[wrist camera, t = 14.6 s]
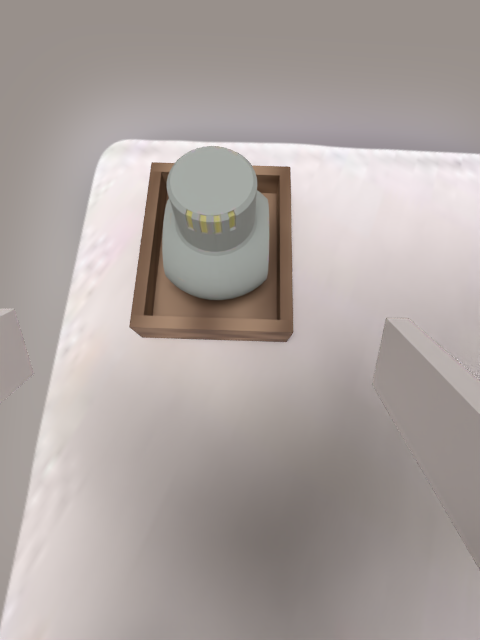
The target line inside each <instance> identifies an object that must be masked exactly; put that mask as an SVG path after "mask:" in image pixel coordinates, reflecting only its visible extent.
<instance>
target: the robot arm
mask: <svg viewBox="0 0 480 640" xmlns="http://www.w3.org/2000/svg"><path fill="white" fill-rule="evenodd" d="M33 374H34V372H33V368H32V365H31V362H30V358H29V355H28V352H27V349H26V346H25V342H24V338H23V335H22V332H21V329H20V325H19V322H18V319H17V315H16V312H15V309H0V403H2V401H4V400H5V399H6V398H7V397H8V396H10V395H11V394H12V393H13V392H14V391H15V390H16V389H17V388H19V387H20V386H21V385H22V384H23V383H24V382H25V381H27V380H28V379H29V378H30V377H31V376H32V375H33ZM372 385H373V387H374V389H375V391H376V392H377V394H378V396H379V397H380V399H381V401H382V403H383V404H384V406H385V408H386V409H387V411H388V413H389V415H390V416H391V418H392V420H393V422H394V423H395V425H396V427H397V428H398V430H399V432H400V434H401V435H402V437H403V439H404V440H405V442H406V444H407V446H408V447H409V449H410V451H411V453H412V454H413V456H414V458H415V459H416V461H417V463H418V465H419V466H420V468H421V470H422V471H423V473H424V475H425V477H426V478H427V480H428V482H429V484H430V485H431V487H432V489H433V490H434V492H435V494H436V496H437V497H438V499H439V501H440V502H441V504H442V506H443V508H444V509H445V511H446V513H447V515H448V516H449V518H450V520H451V521H452V523H453V525H454V527H455V528H456V530H457V532H458V533H459V535H460V537H461V539H462V540H463V542H464V544H465V546H466V547H467V549H468V551H469V552H470V554H471V556H472V558H473V559H474V561H475V563H476V564H477V566H478V568H479V570H480V381H479V380H478V379H477V378H476V377H475V376H474V375H473V374H471V373H470V372H469V371H468V370H467V369H466V368H465V367H464V366H462V365H461V364H460V363H459V362H458V361H457V360H456V359H454V358H453V357H452V356H451V355H450V354H449V353H448V352H447V351H445V350H444V349H443V348H442V347H441V346H440V345H439V344H437V343H436V342H435V341H434V340H433V339H432V338H431V337H430V336H428V335H427V334H426V333H425V332H424V331H423V330H422V329H420V328H419V327H418V326H417V325H416V324H415V323H414V322H413V321H411V320H410V319H409V318H386V321H385V326H384V330H383V335H382V340H381V344H380V349H379V354H378V359H377V363H376V368H375V373H374V377H373V382H372Z"/></svg>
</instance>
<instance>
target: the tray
mask: <svg viewBox="0 0 480 640" xmlns="http://www.w3.org/2000/svg"><path fill="white" fill-rule="evenodd" d="M174 164H175V163H152V164H151V172H150V179H149V186H148V194H147V201H146V208H145V216H144V223H143V230H142V238H141V245H140V253H139V260H138V267H137V275H136V282H135V289H134V297H133V304H132V312H131V319H130V326H129V327H130V328H131V329H132V330H134V331H135V332H136V333H137V334H139V335H140V336H141V337H150V338H181V339H212V340H242V341H273V342H287V340H288V339H289V338H290V336H291V335H292V333H293V298H292V239H291V180H290V167H278V166H252V167H253V169H254V171H255V173H256V177H257V190H258V191H259V192H260V193H261V194H263V195H264V196H265V197H266V198H267V199H268V204H269V263H268V275H267V279H266V280H265V281H264V282H263V283H262V284H261V285H260V286H258V287H257V288H256V289H254V290H253V291H251V292H249V293H247V294H245V295H243V296H240V297H236V298H233V299H226V300H208V299H202V298H198V297H196V296H193V295H190V294H188V293H186V292H184V291H183V290H181V289H179V288H178V287H177V286H175V285H174V284H173V283H172V282H171V281H170V280H169V279H168V278H167V277H166V275H165V272H164V267H163V253H162V238H163V222H164V214H165V208H166V204H167V201H168V199H169V196H168V192H167V178H168V174H169V172H170V170H171V168H172V166H173V165H174Z"/></svg>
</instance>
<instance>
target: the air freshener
mask: <svg viewBox="0 0 480 640" xmlns="http://www.w3.org/2000/svg"><path fill="white" fill-rule="evenodd" d="M167 192H168V196H169V199H168V201H167V204H166V208H165V214H164V222H163V238H162V253H163V267H164V272H165V275H166V277H167V278H168V279H169V280H170V281H171V282H172V283H173V284H174V285H175V286H177V287H178V288H179V289H181V290H183V291H184V292H186V293H188V294H190V295H193V296H196V297H198V298H202V299H208V300H226V299H233V298H236V297H240V296H243V295H245V294H247V293H249V292H251V291H253V290H254V289H256V288H257V287H258V286H260V285H261V284H262V283H263V282H264V281H265V280H266V279H267V275H268V263H269V204H268V199H267V198H266V197H265V196H264V195H263V194H261V193H260V192H259V191H258V190H257V177H256V173H255V171H254V169H253V167H252V165H251V164H250V163H249V161H248V160H247V159H245V158H244V157H243V156H242V155H240V154H239V153H237V152H234V151H232V150H230V149H227V148H224V147H218V146H207V147H201V148H197V149H195V150H192V151H190V152H188V153H187V154H185V155H183V156H182V157H181V158H179V159H178V160H177V161H176V163H175V164H174V165H173V166H172V168H171V170H170V172H169V174H168V178H167Z"/></svg>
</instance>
